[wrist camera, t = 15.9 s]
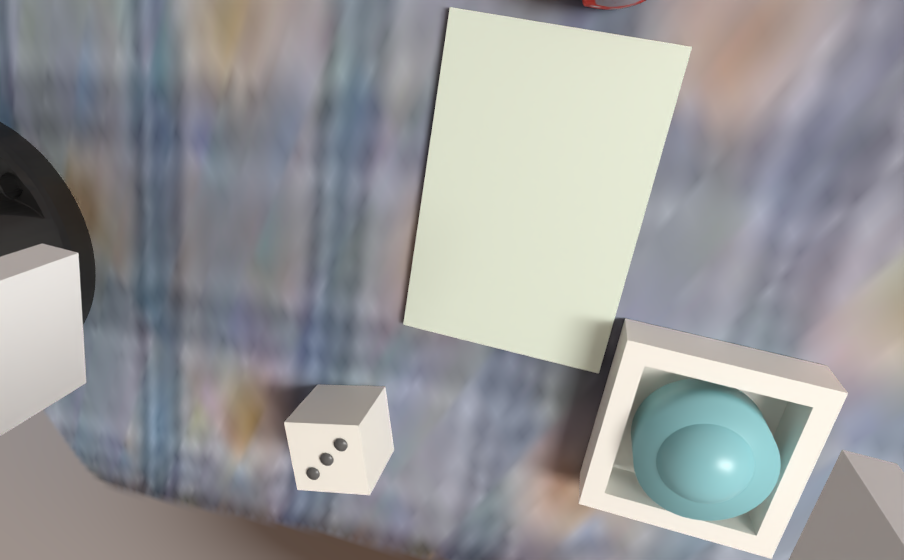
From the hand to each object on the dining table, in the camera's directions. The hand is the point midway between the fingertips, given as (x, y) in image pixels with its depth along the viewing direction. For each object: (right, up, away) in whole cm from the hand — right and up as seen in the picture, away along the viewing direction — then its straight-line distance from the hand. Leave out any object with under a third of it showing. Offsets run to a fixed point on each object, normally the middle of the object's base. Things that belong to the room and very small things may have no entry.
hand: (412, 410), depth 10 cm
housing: (+12, -5, +19) cm, 23 cm away
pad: (+4, +6, +17) cm, 19 cm away
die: (-5, -5, +24) cm, 25 cm away
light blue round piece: (+12, -5, +19) cm, 23 cm away
